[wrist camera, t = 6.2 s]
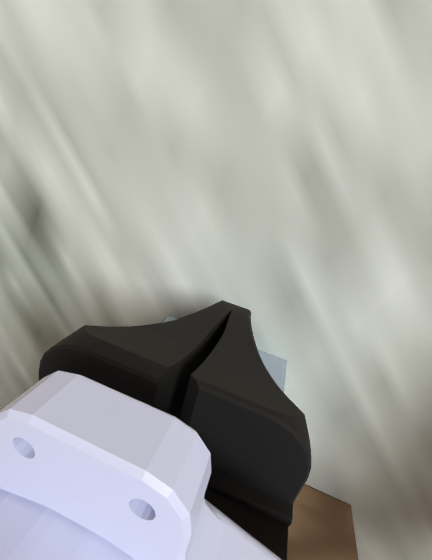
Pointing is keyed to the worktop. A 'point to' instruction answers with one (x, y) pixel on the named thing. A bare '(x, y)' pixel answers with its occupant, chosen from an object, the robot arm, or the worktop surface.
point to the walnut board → (321, 528)
